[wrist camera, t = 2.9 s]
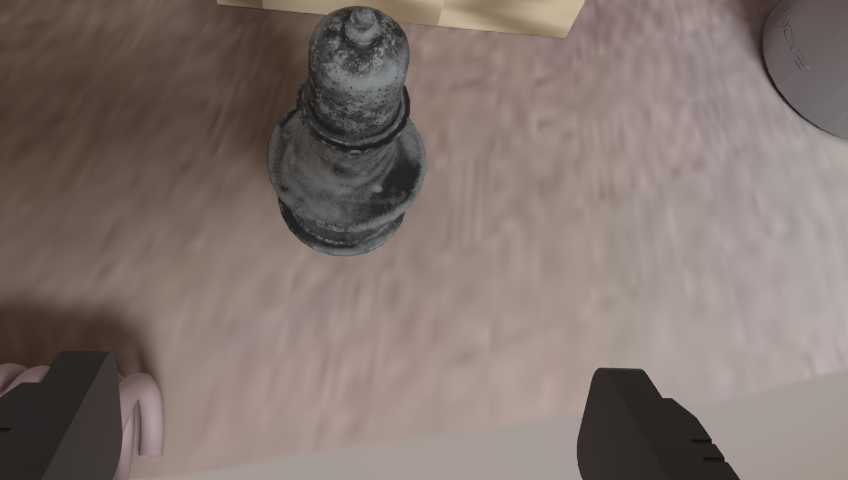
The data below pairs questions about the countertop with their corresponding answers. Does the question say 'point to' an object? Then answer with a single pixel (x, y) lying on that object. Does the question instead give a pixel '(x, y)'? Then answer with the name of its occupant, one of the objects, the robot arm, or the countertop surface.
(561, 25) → the jig
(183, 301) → the countertop surface
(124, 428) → the coil
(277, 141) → the grey tall knobbed piece
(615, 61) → the countertop surface
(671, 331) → the countertop surface
